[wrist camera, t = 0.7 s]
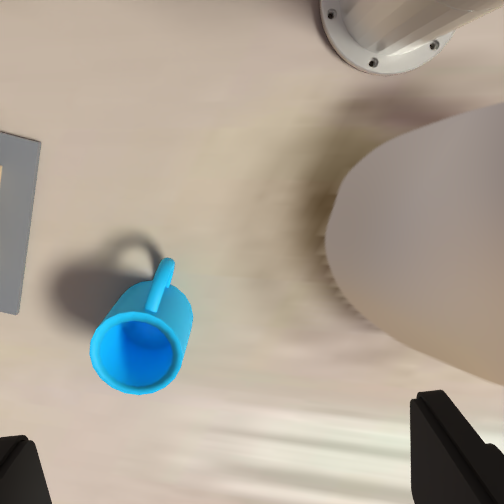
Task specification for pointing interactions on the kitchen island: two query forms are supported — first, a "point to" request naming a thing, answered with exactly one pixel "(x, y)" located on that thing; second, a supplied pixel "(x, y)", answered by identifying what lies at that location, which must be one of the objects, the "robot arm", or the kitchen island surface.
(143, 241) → the kitchen island surface
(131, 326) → the mug
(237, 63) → the kitchen island surface
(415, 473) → the robot arm
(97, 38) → the kitchen island surface
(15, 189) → the grey square mat
